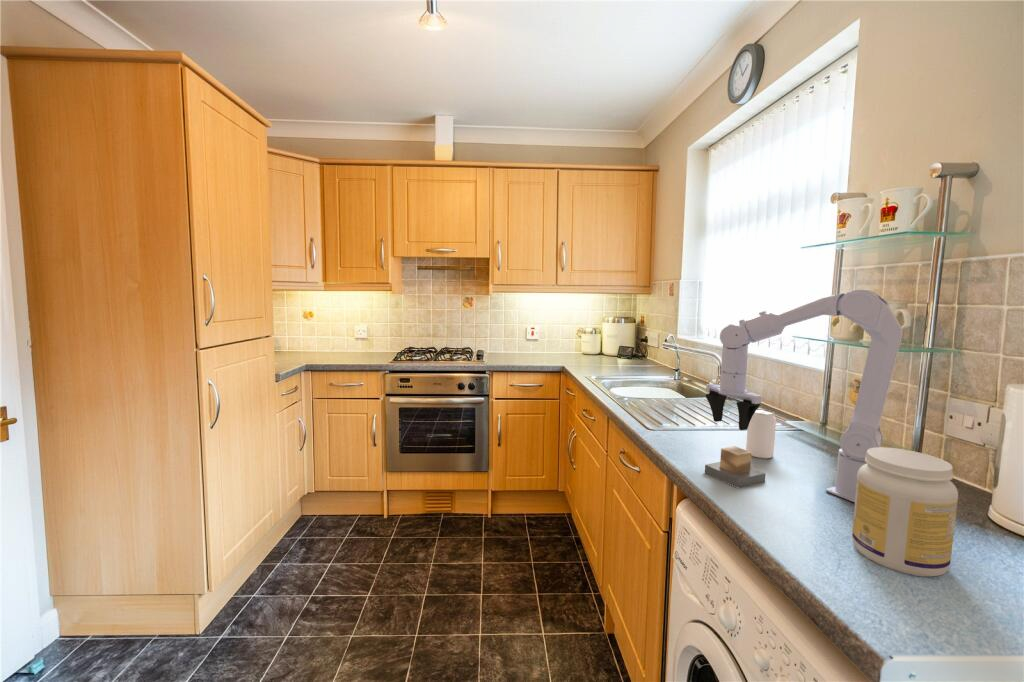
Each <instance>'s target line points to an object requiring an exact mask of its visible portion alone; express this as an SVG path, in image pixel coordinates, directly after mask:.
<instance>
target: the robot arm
mask: <svg viewBox="0 0 1024 682" xmlns="http://www.w3.org/2000/svg"><path fill="white" fill-rule="evenodd" d="M820 316H821V317H822V316H832V317H838V316H839V317H840V316H843V317H844V318H846V319H847V320H850V321H851V322H852V323H855V324H857V325H859V327H861V328H862V329H863V330H864V331H865V333H866V334H867V335H868V336H869V337H871V340H870V344H869V346H868V347H869V348H868V352H867V356H866V360H865V364H864V367H863V373H862V376H861V379H860V380H861V381H860V385H859V389H858V392H857V398H856V401H855V405H854V409H853V413H852V416H851V418H850V421H849V424H848V426H847V427H846V429H845V432H843V433H842V434H841V436H840V438H839V446H840V448H839V449H838V455H837V466H836V477H835V486H831V487H828V488H825V492H827V493H829V494H832V495H834V496H837V497H839V498H842V499H845V500H847V501H850V502H852V503H854V504H855V497H856V486H857V474H858V470H859V469H860V467H862V466H863V465H865V464H867V463H866V461H865V457H866V454H867V450H868V449H870V448H876V447H880V446H881V444H882V442H883V433H882V430H881V421H882V418H883V413H884V408H885V404H886V400H887V397H888V393H889V388H890V386H891V381H892V377H893V373H894V369H895V365H896V363H897V361H896V360H897V358H898V354H899V350H900V346H901V341H902V338H903V333H904V332H903V327H902V326H901V324H900V323H899V321H898V319H897V317H896V316H895V314H894V312H893V311H892V308H891V307H890V305H889V303H888V302H887V300H885V299H884V298H883V297H881V296H880V295H879V294H878V293H876V292H875V291H872V290H867V289H860V288H859V289H853V290H850V291H848V292H845V293H837V294H833V295H832V294H831V295H829V296H825V297H820V298H819V299H815V300H813V301H811V302H808V303H806V304H803V305H800V306H797V307H795V308H793V309H789V310H787V311H785V312H782V313H777V312H775V311H772V310H771V311H768V312H767V310H763V311H760V312H758V315H757V316H754V317H751V318H748V319H744V318H743V319H739V320H738V322H739V323H738V324H732V323H730V324H728V325H727V326H725V327H723V329H722V330H721V331H720V334H719V340H720V343H721V344H722V351H721V364H720V382H719V384H714V383H707V384H706V387H705V389H706V390H705V391H706V392H708V393H706V394H705V399H706V400H707V402H708V404H709V406H710V410H711V413H712V419H713V422H717V423H718V422H721V421H722V420H723V417H724V415H723V414H724V408H725V407H724V406H725V403H726V400H727V397H729V398H733V399H737V400H741V401H736V403H735V404H736V407H737V410H738V430H740V431H746V430H747V429H748V426H749V423H750V420H751V418H752V416H753V414H754V413H755V411H756V410H757V409H759V407H760V405H761V403H762V395H761V394H757V393H754V392H751V391H748V390H747V389H746V387H747V386H746V383H747V370H748V369H747V368H748V351H749V350H748V349H749V345H750V344H751V343H752V344H753V343H756V342H760V341H763V340H767V339H769V338H772V337H777V336H779V335H781V334H782V333H783V331H784V330H785V328H786V327H787V326H790V325H795V324H798V323H801V322H804V321H807V320H811V319H814V318H816V317H817V318H818V317H820Z"/></svg>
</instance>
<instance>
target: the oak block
mask: <svg viewBox="0 0 1024 682" xmlns="http://www.w3.org/2000/svg"><path fill="white" fill-rule="evenodd" d="M751 453H752V452H749V451H746V449H744V448H740V447H738V446H734V445H733V446H728V447H722V448H720V459H719V462H720V467H722V468H724V469H726V470H728V471H731V472H733V473H735V474H739V473H744V472H748V471H750V467H751V464H752V456H751Z"/></svg>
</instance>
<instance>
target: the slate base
mask: <svg viewBox="0 0 1024 682" xmlns="http://www.w3.org/2000/svg"><path fill="white" fill-rule="evenodd" d="M704 473H705V474H706V473H707V474H706V475H708V474H709V476H711V477H712V478H715V479H717V478H718V479H717V480H719V479H720V480H719V481H721V480H722V481H721V482H723V481H724V482H723V483H725V482H726V483H725V484H727V483H729V484H728V485H730V484H731V485H730V486H732V485H733V486H732V487H734V486H735V487H734V488H736V487H739V488H742V487H743V486H744V487H747V485H748V486H752V485H756V483H757V484H761V483H765V482H766V473H765V472H763V471H761V470H759V469H756V468H755V467H750V471H748V472H744V473H739V474H735V473H733V472H731V471H728V470H726V469H724V468H722V467H720V461H717V462H713V463H707V464H705V465H704Z"/></svg>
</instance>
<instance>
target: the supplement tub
mask: <svg viewBox="0 0 1024 682" xmlns="http://www.w3.org/2000/svg"><path fill="white" fill-rule="evenodd" d="M865 461H866V463H867V464H865V465H863V466H862V467H860V469H859V470H858V474H857V486H856V497H855V503H854V510H853V511H854V513H853V520H852V521H853V522H852V533H851V537H852V538H851V539H852V543H853V545H854V546H855V548H856V550H858V551H859V553H861V554H862V556H864V557H866V558H867V559H869V560H871V561H872V562H874V563H876V564H878V565H881V566H883V567H885V568H888V569H891V570H894V571H896V572H899V573H902V574H907V575H912V576H915V577H916V576H917V577H928V578H929V577H938V576H942V575H945V574H946V573H947V572H948V571H949V568H950V566H951V560H952V559H951V558H952V551H953V543H954V535H955V534H954V533H955V528H956V526H955V525H956V516H957V509H958V500H959V491H958V489H957V487H956V486H955V484H954V482H952V481H951V480H953V479H954V474H953V471H954V469H953V468H954V467H953V465H952V464H951V463H950V462H948V461H946V460H945V459H944V460H943V459H941V458H939V457H937V456H933V455H931V454H926V453H923V452H918V451H914V450H909V449H903V448H897V447H896V448H895V447H887V446H885V447H883V446H882V447H881V446H879V447H876V448H870V449H868V450H867V454H866V457H865Z"/></svg>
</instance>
